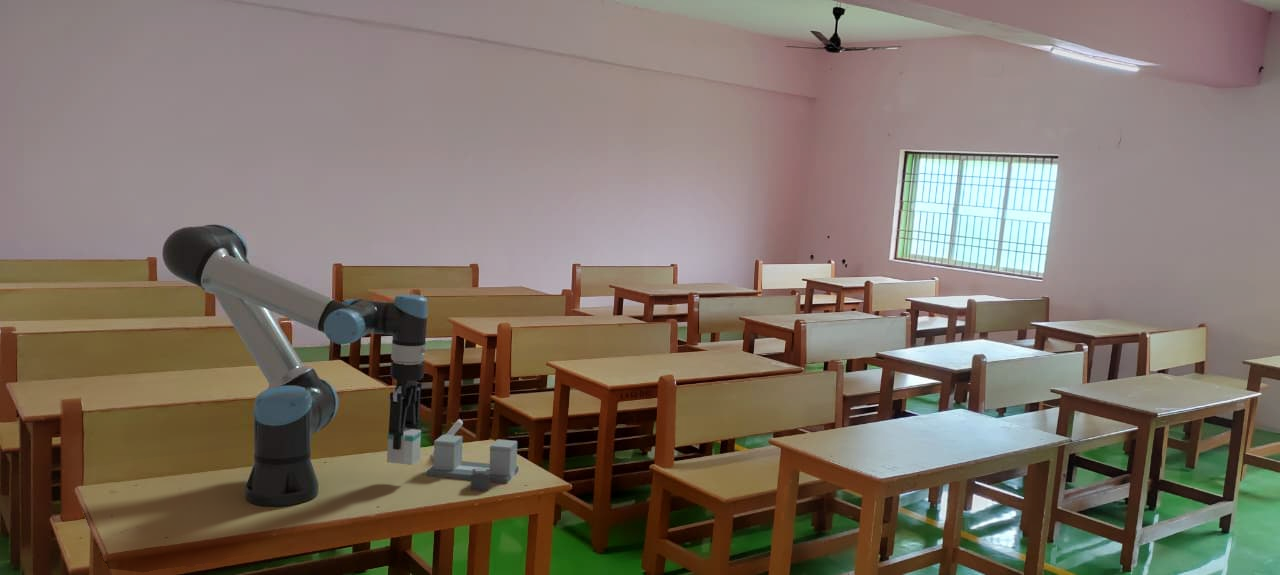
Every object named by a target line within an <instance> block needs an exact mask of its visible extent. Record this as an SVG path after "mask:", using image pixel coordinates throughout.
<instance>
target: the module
mask: <svg viewBox="0 0 1280 575" xmlns="http://www.w3.org/2000/svg"><path fill="white" fill-rule="evenodd" d="M405 428H406V427H404V434H403V435H405V447H404V462H403V463H398V464H399V465H400V464H401V465H410V466H413V464H415V463H417V461H419V460H420V459H421V458H420V457H421V439H422V438H421V437H422V429H416V428H414V429H405ZM392 440H393V435H389V434H388V433H387V452H386V453H387V454H386V456H387V457H386V462H387V463H391V464H397V463H396V462H391V458H392Z"/></svg>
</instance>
